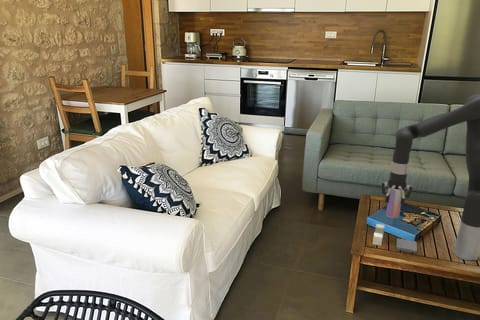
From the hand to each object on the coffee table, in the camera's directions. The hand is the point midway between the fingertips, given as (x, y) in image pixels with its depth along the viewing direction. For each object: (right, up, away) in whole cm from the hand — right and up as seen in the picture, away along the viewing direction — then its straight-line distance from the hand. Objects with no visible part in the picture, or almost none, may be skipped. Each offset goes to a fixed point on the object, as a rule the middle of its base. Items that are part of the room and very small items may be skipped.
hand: (394, 203), depth 187 cm
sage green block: (-3, -17, +13) cm, 22 cm away
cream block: (-7, -20, +5) cm, 22 cm away
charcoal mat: (+7, -21, +2) cm, 22 cm away
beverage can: (0, -6, +2) cm, 7 cm away
